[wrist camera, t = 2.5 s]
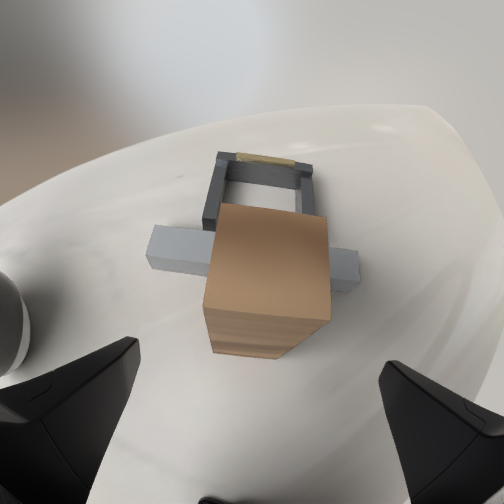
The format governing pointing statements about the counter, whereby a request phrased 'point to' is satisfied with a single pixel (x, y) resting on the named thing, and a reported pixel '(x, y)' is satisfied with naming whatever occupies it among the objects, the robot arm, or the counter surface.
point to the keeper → (257, 181)
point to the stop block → (266, 281)
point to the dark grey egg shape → (12, 326)
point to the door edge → (200, 249)
